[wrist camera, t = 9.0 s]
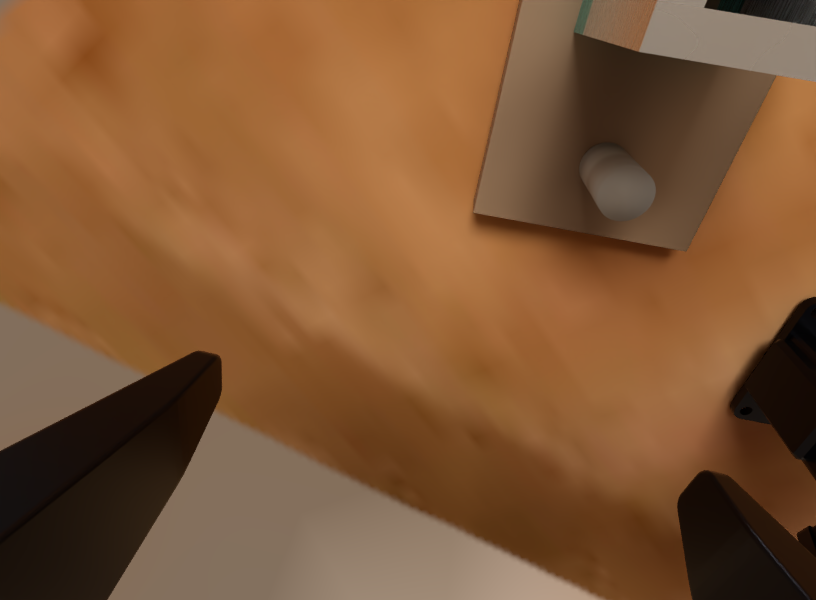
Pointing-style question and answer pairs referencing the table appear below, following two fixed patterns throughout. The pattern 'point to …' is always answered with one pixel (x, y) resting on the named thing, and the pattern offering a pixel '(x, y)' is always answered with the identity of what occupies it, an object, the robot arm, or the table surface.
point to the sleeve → (711, 32)
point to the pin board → (610, 132)
